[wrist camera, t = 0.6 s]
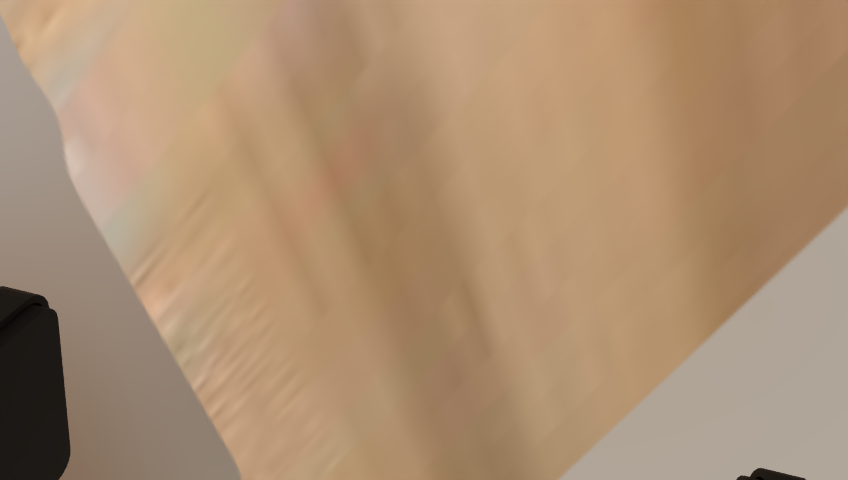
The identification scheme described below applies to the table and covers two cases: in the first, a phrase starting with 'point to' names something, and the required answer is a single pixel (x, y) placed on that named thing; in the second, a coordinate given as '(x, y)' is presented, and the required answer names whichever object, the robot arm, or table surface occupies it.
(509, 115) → the table surface
